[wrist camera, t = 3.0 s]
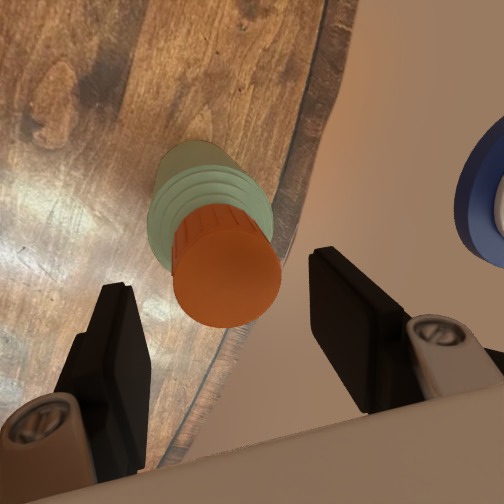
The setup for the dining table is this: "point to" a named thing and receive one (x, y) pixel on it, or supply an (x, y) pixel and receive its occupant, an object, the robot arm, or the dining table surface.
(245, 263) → the cap
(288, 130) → the dining table surface
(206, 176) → the bottle
